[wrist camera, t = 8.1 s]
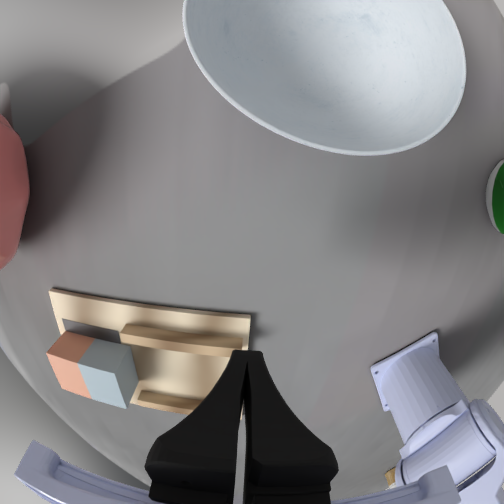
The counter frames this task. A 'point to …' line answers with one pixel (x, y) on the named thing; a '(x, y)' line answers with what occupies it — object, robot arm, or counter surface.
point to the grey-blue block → (109, 372)
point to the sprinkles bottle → (391, 478)
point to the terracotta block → (70, 361)
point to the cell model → (11, 190)
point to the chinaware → (333, 68)
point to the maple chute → (159, 344)
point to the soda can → (496, 197)
